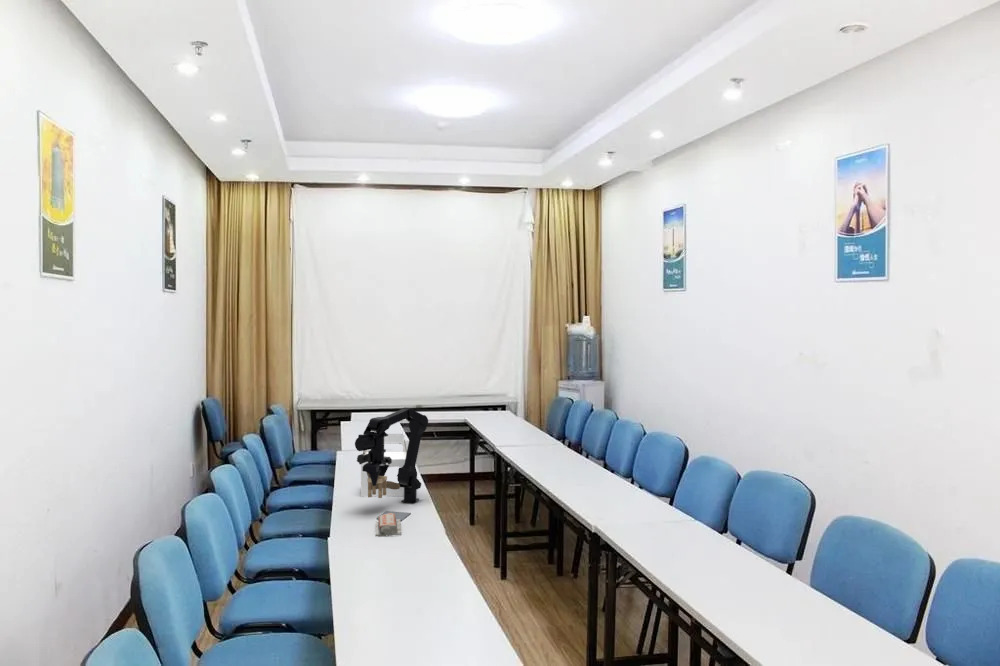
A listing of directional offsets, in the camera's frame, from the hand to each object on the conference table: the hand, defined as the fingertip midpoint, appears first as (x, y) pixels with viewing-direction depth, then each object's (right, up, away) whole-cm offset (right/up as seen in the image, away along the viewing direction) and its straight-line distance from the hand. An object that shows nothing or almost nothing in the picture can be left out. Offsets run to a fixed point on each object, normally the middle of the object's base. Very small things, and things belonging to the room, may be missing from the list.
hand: (377, 483), depth 315 cm
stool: (0, -5, 0) cm, 5 cm away
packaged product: (+9, -13, -25) cm, 30 cm away
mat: (+8, -12, -8) cm, 17 cm away
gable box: (-1, -11, +30) cm, 32 cm away
